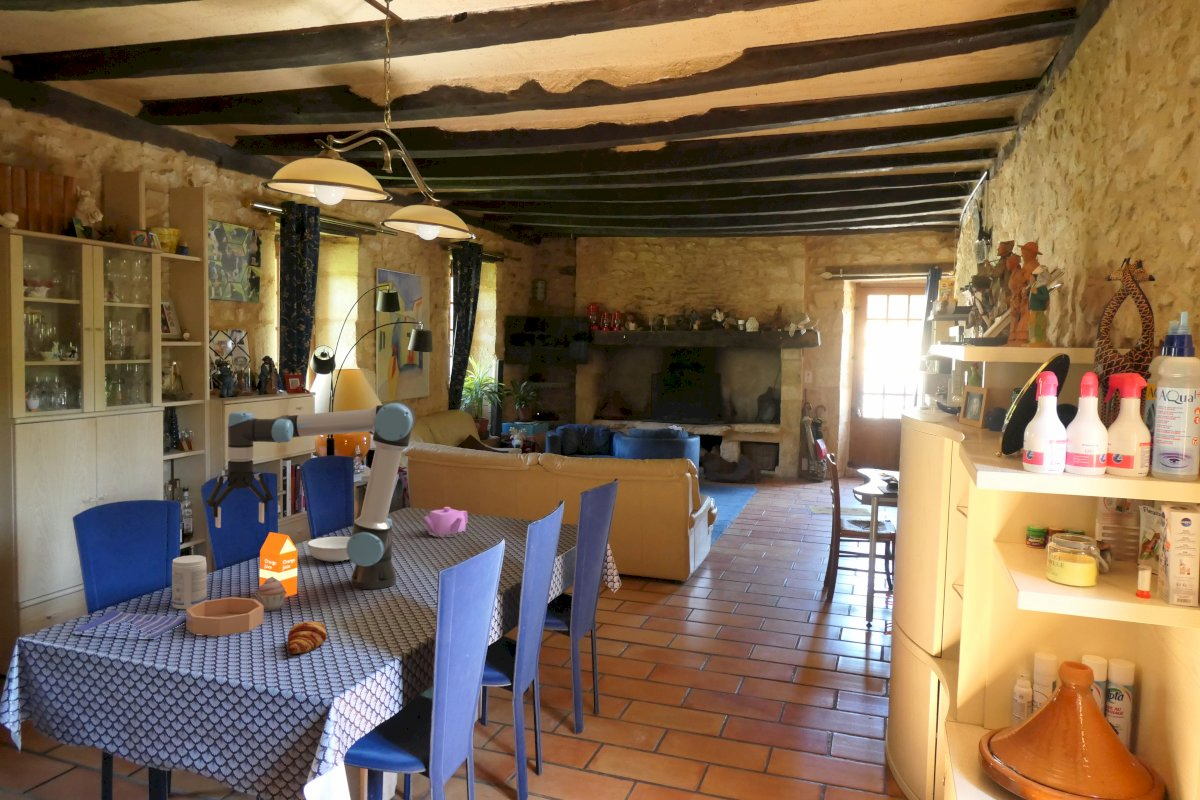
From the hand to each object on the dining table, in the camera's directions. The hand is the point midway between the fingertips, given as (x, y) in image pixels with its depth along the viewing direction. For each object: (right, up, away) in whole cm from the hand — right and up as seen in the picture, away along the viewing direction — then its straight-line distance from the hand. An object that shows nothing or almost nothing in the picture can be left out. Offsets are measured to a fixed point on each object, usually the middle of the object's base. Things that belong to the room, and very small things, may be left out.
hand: (240, 524), depth 264 cm
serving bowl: (+15, -21, +49) cm, 55 cm away
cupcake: (+15, -24, -12) cm, 31 cm away
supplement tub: (-10, -23, -13) cm, 28 cm away
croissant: (+37, -27, -41) cm, 62 cm away
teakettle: (+48, -20, +98) cm, 111 cm away
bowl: (+8, -25, -29) cm, 39 cm away
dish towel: (-15, -25, -34) cm, 45 cm away
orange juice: (+12, -23, +2) cm, 26 cm away
